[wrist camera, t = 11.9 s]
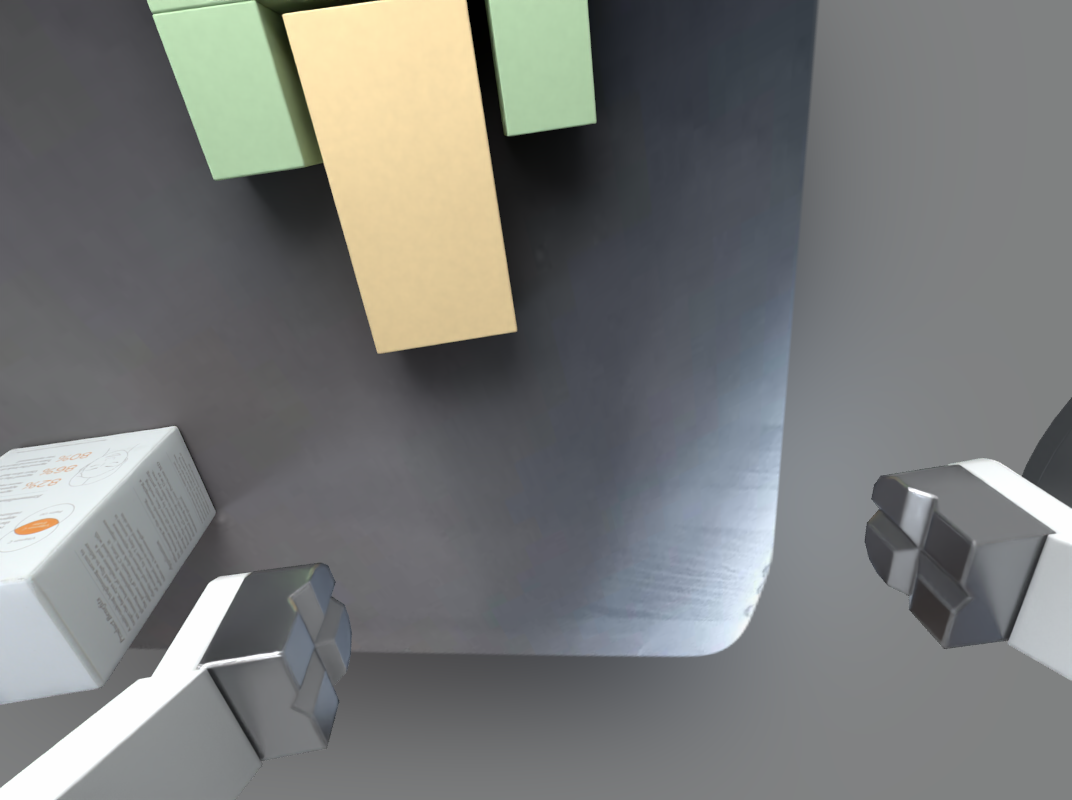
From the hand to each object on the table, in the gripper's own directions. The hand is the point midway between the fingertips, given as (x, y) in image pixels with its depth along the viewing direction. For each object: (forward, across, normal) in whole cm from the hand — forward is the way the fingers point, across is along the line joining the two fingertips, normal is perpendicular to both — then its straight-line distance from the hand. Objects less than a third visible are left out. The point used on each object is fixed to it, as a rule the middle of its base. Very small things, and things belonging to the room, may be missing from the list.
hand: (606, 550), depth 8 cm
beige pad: (+19, +4, -4) cm, 20 cm away
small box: (+19, +22, +8) cm, 30 cm away
